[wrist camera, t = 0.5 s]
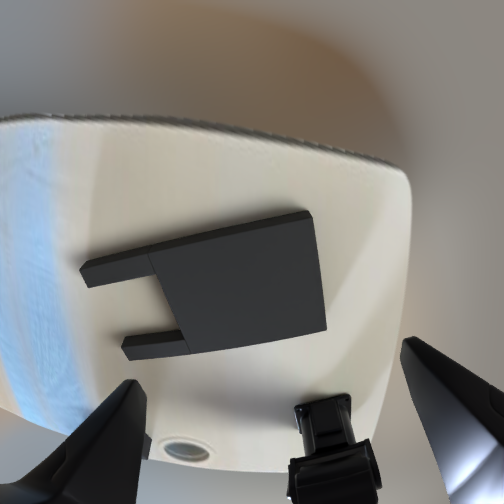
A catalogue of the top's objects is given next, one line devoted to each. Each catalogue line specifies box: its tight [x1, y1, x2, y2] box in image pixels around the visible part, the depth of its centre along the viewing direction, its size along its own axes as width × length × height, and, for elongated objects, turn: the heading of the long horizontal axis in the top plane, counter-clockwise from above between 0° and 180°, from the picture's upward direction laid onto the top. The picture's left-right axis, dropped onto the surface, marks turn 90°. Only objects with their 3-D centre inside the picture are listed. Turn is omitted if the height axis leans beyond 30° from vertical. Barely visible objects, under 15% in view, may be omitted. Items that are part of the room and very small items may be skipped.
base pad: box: [79, 210, 327, 361], centre depth 24 cm, size 10×18×2 cm, turn 103°
